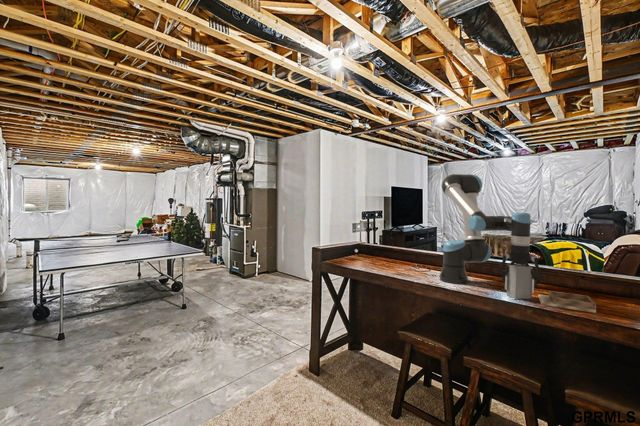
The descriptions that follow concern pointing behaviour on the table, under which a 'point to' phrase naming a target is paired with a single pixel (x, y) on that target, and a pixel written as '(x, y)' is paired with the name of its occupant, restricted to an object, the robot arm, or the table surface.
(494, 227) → the robot arm
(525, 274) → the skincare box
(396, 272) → the table surface
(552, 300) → the socket board
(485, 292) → the table surface
